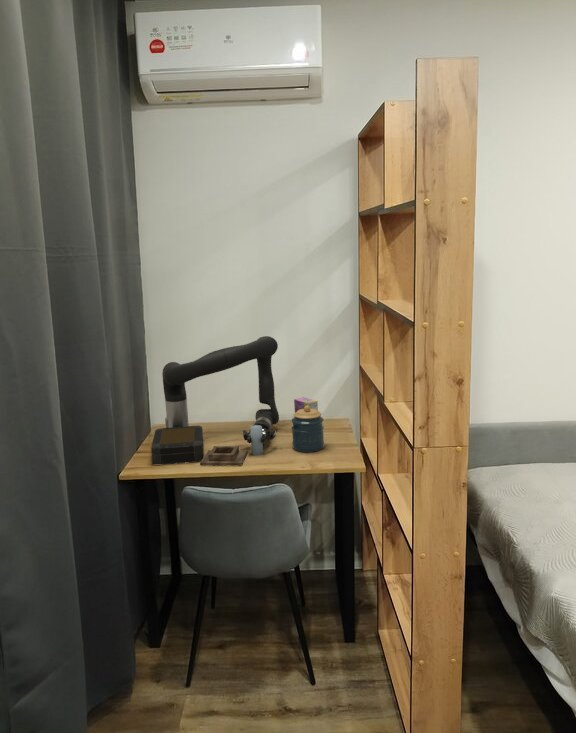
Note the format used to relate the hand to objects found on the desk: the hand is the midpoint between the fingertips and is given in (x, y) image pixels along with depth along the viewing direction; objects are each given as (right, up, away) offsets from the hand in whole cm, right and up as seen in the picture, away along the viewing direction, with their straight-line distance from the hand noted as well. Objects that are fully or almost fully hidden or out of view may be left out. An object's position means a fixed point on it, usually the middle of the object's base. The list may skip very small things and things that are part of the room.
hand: (255, 441), depth 240 cm
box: (+21, +2, +39) cm, 45 cm away
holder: (-12, -7, -2) cm, 14 cm away
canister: (+21, -4, +9) cm, 23 cm away
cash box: (-32, -6, +8) cm, 33 cm away
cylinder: (0, -5, +4) cm, 7 cm away
